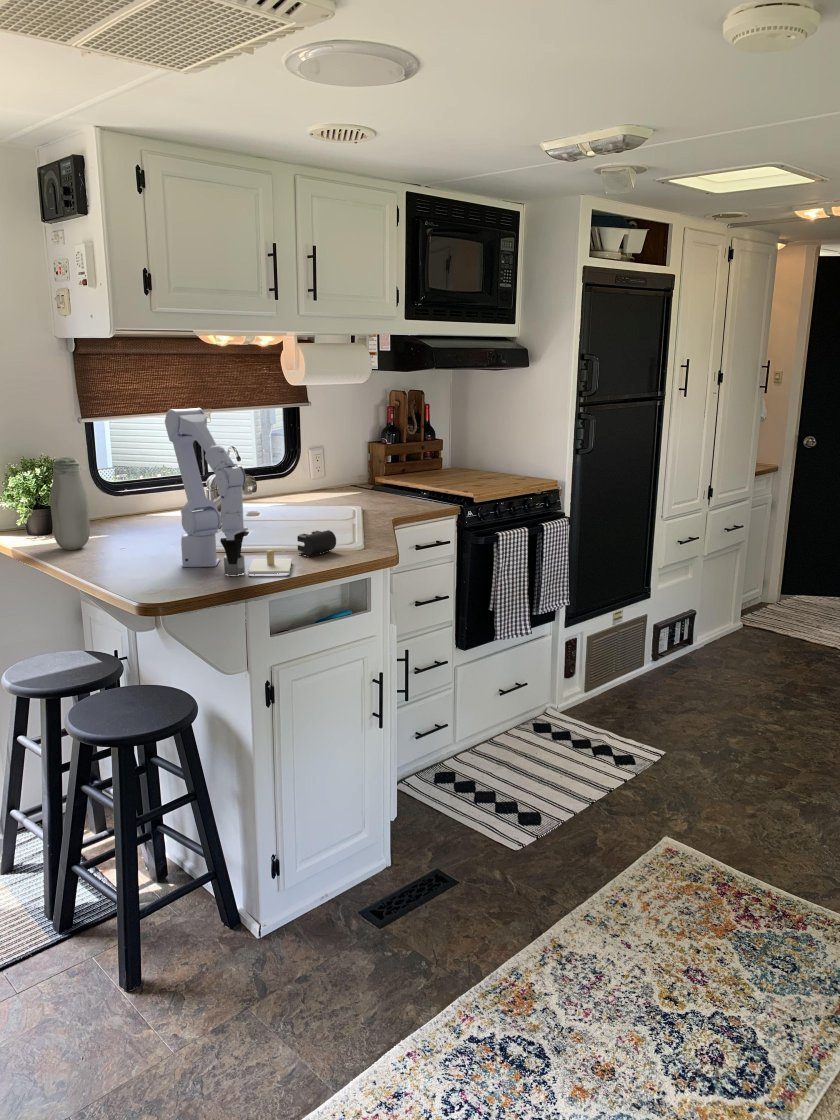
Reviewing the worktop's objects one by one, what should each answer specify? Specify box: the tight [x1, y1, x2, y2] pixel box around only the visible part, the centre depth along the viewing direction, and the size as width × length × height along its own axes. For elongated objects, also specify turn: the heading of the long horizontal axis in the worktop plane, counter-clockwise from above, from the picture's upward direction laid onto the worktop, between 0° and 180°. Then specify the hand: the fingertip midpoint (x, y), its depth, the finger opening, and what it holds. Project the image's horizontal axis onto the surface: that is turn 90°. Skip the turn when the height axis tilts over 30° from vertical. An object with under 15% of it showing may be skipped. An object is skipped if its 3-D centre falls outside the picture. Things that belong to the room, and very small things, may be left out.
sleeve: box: [223, 554, 246, 575], centre depth 232 cm, size 5×5×5 cm
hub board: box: [247, 549, 293, 575], centre depth 237 cm, size 11×14×6 cm
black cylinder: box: [297, 529, 337, 557], centre depth 255 cm, size 10×7×7 cm
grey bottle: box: [49, 456, 91, 551], centre depth 256 cm, size 10×10×28 cm
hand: (234, 560), depth 232 cm, fingers open, 7 cm apart
